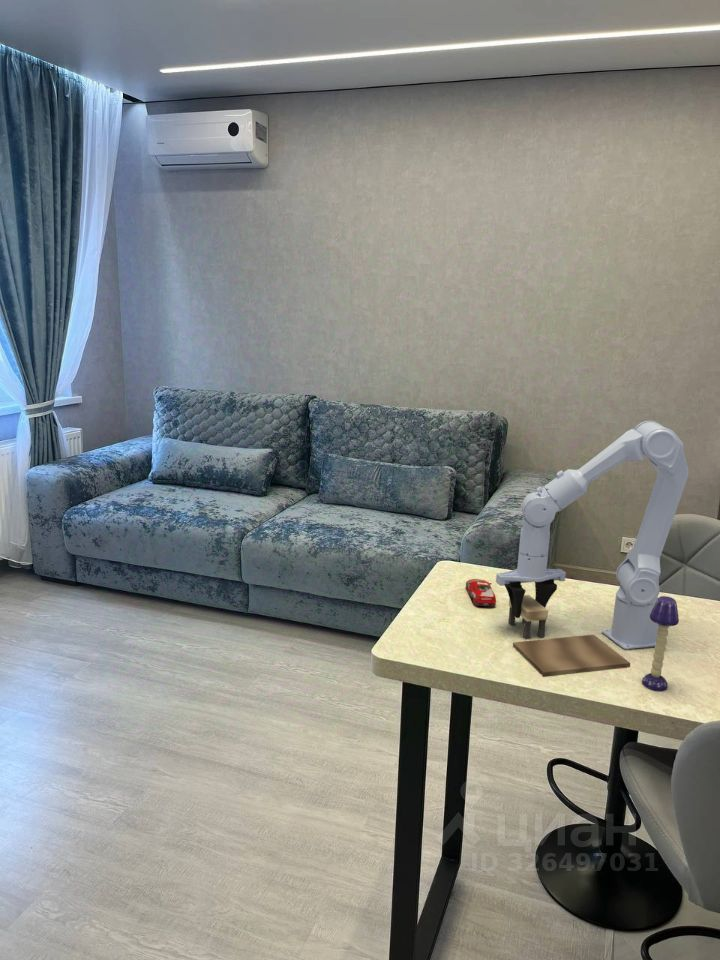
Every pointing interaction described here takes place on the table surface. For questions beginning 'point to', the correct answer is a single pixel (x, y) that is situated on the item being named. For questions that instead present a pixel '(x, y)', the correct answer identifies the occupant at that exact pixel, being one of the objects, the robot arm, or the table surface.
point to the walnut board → (570, 655)
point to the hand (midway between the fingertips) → (527, 615)
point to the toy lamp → (661, 640)
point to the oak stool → (530, 616)
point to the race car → (481, 592)
